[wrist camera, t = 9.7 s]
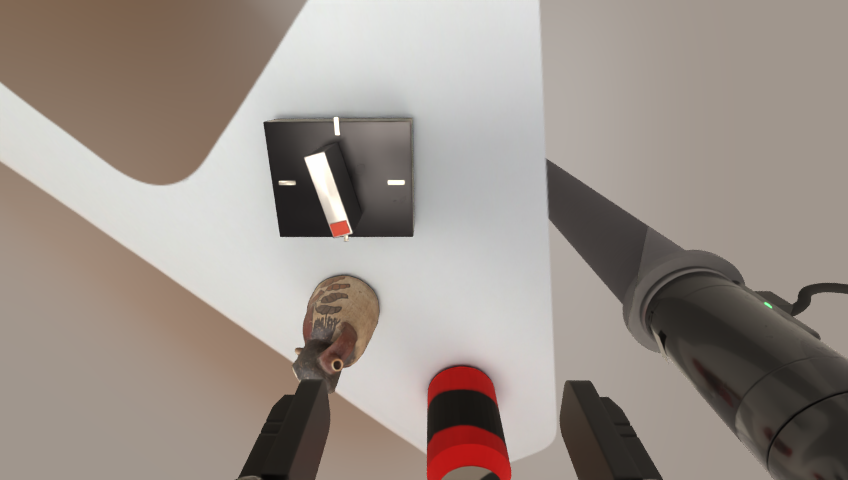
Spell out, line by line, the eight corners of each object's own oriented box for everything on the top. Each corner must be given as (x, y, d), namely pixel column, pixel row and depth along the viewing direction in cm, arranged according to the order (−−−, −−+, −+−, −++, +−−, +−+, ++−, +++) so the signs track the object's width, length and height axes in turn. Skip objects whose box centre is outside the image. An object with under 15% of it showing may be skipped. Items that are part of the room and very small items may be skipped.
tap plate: (412, 113, 35) (410, 116, 32) (414, 229, 39) (413, 241, 36) (275, 114, 35) (261, 117, 32) (290, 229, 39) (279, 241, 36)
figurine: (297, 297, 42) (250, 375, 31) (350, 261, 40) (319, 329, 29) (342, 344, 44) (312, 433, 33) (393, 311, 43) (381, 393, 31)
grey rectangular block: (319, 147, 33) (302, 157, 29) (337, 142, 33) (323, 151, 29) (345, 219, 36) (332, 239, 31) (362, 215, 36) (352, 234, 31)
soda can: (506, 398, 47) (530, 498, 35) (450, 426, 48) (456, 530, 37) (471, 353, 44) (485, 444, 33) (414, 383, 46) (409, 480, 35)
